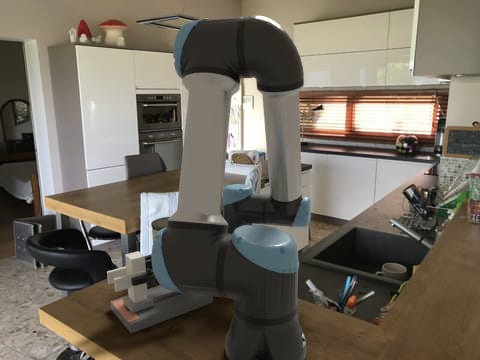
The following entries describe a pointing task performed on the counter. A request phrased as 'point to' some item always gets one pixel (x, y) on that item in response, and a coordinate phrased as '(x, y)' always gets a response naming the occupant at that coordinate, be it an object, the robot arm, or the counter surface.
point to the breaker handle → (138, 293)
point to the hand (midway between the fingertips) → (111, 281)
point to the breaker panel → (158, 308)
